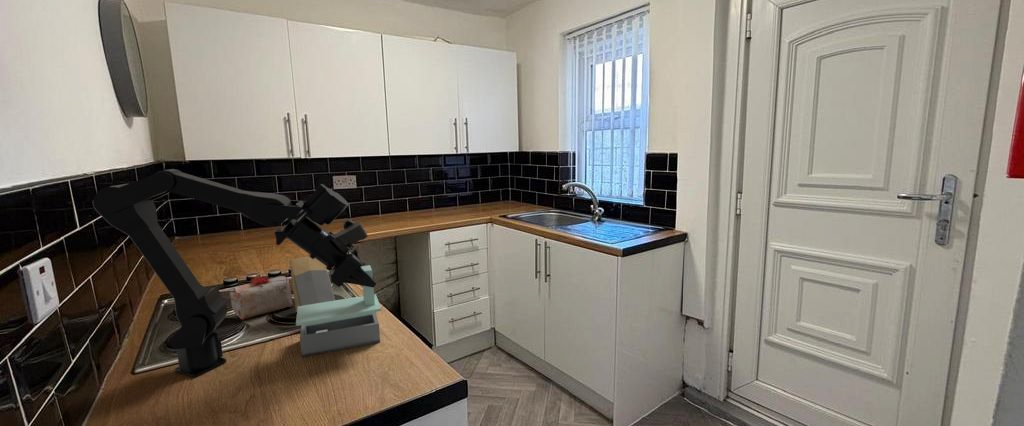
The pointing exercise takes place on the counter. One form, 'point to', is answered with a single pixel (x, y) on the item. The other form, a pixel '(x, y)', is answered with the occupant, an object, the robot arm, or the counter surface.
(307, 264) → the sandwich container
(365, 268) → the lid
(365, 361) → the counter surface
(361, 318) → the box
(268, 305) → the food item
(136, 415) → the counter surface
